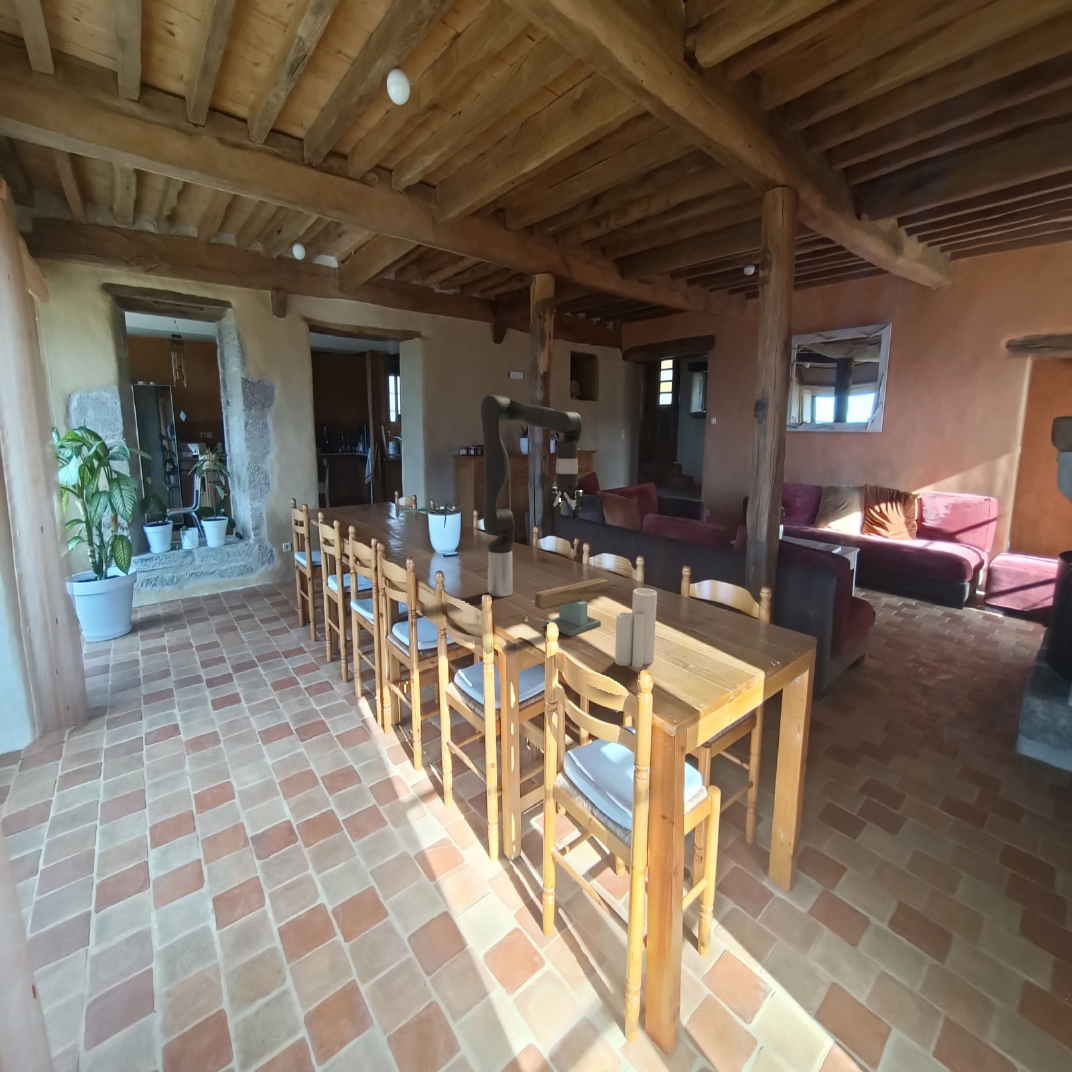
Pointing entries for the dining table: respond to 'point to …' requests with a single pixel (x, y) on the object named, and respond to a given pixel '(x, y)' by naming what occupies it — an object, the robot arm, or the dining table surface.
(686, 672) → the dining table surface
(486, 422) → the robot arm
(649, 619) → the grey joined cylinders
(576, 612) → the stand
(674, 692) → the dining table surface
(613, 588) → the dining table surface
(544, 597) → the walnut rod
